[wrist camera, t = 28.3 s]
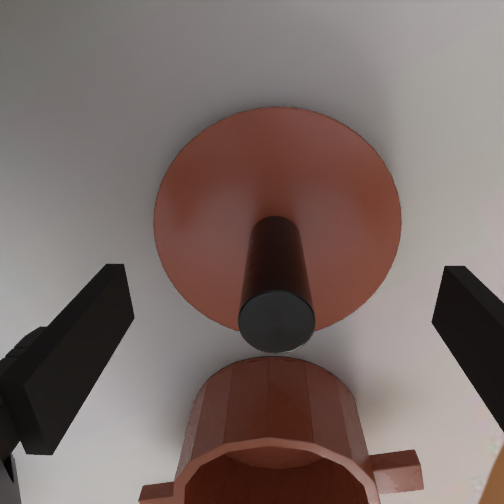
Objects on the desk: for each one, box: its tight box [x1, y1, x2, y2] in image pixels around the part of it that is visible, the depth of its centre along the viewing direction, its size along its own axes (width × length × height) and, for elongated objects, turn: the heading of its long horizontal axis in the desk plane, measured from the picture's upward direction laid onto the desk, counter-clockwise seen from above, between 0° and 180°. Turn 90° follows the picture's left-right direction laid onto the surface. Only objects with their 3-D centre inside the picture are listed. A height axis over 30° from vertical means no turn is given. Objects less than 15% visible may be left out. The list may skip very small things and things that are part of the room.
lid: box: [154, 106, 401, 353], centre depth 17 cm, size 13×13×9 cm
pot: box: [138, 357, 424, 504], centre depth 24 cm, size 12×18×6 cm
